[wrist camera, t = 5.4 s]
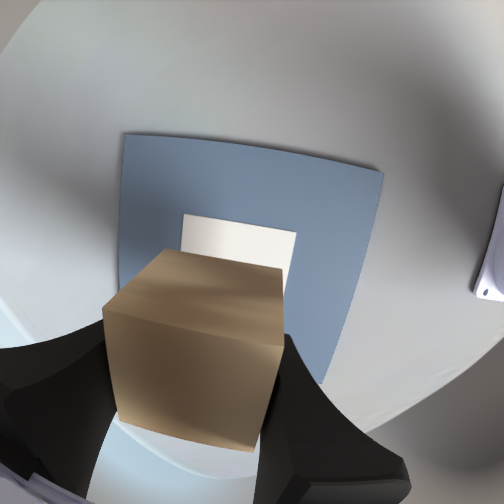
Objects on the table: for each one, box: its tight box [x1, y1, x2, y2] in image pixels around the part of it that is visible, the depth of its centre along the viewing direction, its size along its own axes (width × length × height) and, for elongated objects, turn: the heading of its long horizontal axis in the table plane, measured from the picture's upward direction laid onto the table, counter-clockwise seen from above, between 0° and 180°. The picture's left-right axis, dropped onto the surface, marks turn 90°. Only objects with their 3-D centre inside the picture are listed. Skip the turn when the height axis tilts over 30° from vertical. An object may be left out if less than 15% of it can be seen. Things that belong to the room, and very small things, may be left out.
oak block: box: [102, 249, 284, 453], centre depth 10 cm, size 5×5×5 cm
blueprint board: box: [119, 134, 384, 384], centre depth 17 cm, size 14×14×1 cm
